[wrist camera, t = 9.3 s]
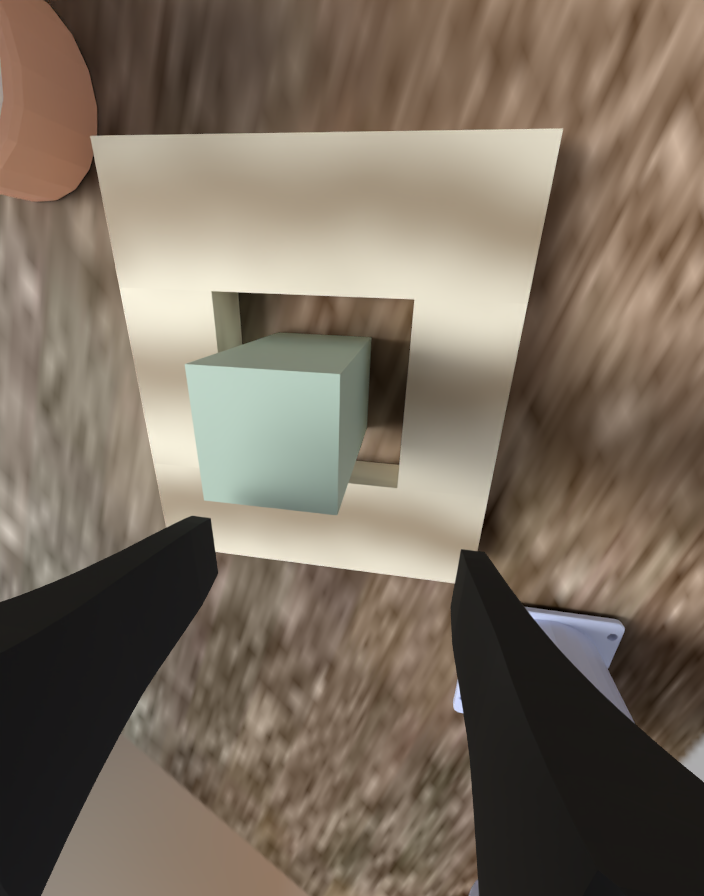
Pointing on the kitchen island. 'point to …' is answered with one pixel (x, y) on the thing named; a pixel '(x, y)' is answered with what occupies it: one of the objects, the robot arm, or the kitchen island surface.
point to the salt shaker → (42, 104)
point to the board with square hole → (336, 274)
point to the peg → (281, 420)
